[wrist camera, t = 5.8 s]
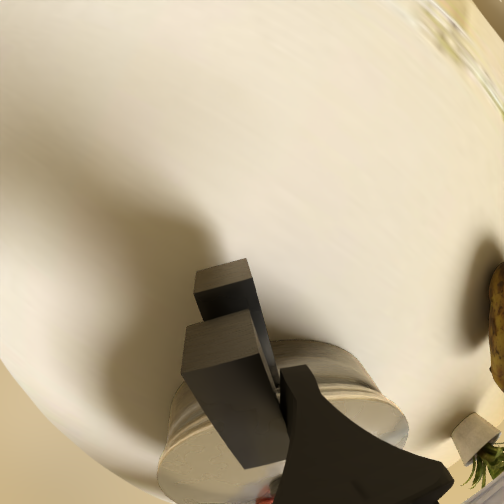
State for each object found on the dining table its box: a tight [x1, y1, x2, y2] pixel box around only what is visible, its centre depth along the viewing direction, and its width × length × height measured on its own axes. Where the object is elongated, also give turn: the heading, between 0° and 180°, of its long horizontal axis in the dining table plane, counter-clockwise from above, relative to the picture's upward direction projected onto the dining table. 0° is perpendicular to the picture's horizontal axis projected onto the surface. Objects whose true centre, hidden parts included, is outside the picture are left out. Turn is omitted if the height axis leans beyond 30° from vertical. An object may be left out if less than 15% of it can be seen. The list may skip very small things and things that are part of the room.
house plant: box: [451, 413, 504, 489], centre depth 20 cm, size 14×14×16 cm
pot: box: [165, 258, 386, 449], centre depth 16 cm, size 22×16×5 cm
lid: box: [157, 309, 409, 504], centre depth 13 cm, size 22×17×3 cm
